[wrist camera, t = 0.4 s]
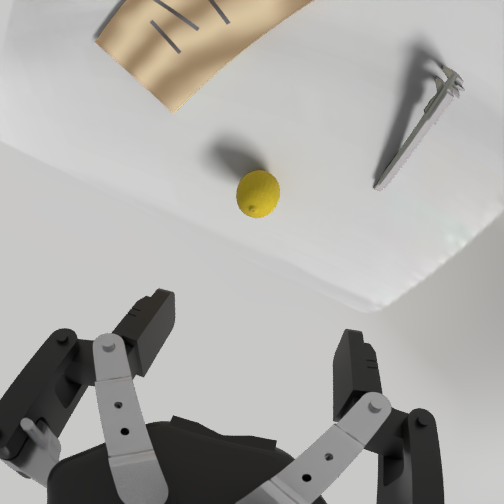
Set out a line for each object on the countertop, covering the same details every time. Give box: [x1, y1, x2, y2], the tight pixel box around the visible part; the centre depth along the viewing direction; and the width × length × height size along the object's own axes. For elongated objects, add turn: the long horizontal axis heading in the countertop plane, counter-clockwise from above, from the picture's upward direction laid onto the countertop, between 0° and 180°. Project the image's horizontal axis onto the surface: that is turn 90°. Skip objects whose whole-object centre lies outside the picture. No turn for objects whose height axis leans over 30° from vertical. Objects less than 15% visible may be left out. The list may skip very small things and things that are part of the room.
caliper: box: [374, 66, 464, 191], centre depth 30 cm, size 20×1×6 cm, turn 164°
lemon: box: [236, 170, 280, 218], centre depth 38 cm, size 6×6×8 cm
